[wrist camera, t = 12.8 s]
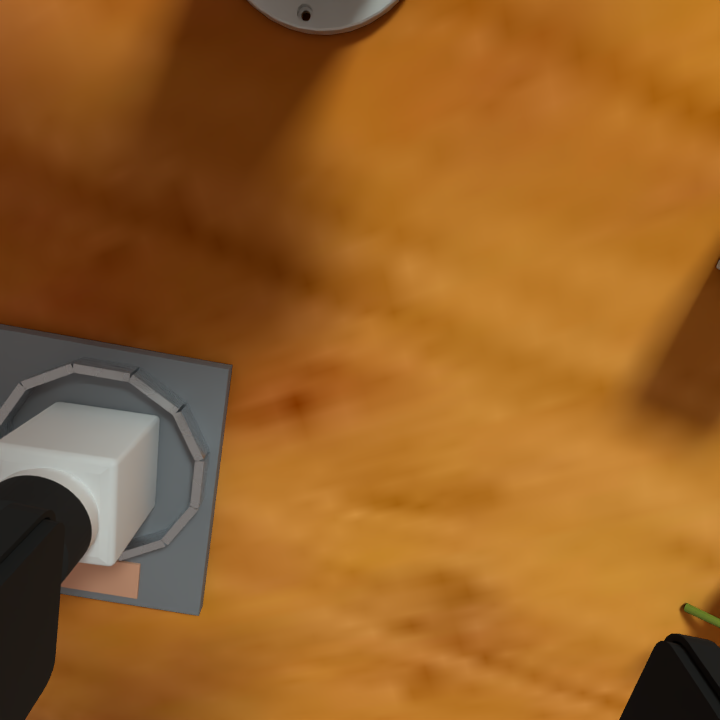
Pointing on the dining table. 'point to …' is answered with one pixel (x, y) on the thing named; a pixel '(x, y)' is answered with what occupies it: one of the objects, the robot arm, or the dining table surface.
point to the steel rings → (158, 392)
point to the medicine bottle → (84, 475)
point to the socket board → (174, 466)
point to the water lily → (702, 615)
